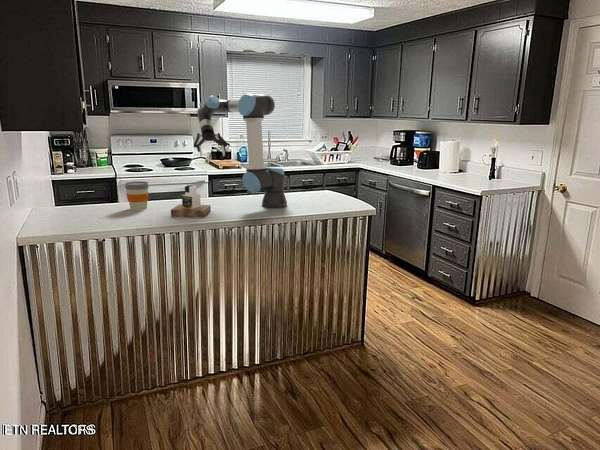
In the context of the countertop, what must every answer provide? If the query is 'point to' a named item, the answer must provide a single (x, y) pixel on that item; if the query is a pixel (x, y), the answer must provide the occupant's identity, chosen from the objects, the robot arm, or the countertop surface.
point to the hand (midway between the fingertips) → (212, 155)
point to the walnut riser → (191, 211)
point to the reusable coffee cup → (137, 194)
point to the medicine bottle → (191, 198)
